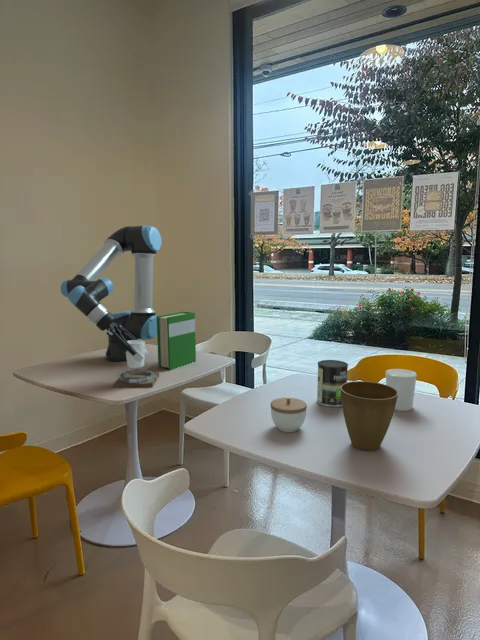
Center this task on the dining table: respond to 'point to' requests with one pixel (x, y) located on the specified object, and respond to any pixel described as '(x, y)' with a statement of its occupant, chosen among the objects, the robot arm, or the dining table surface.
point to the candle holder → (402, 387)
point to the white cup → (140, 347)
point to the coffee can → (331, 382)
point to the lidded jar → (288, 413)
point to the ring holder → (137, 379)
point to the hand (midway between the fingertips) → (144, 357)
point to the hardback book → (176, 339)
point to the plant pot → (367, 412)
